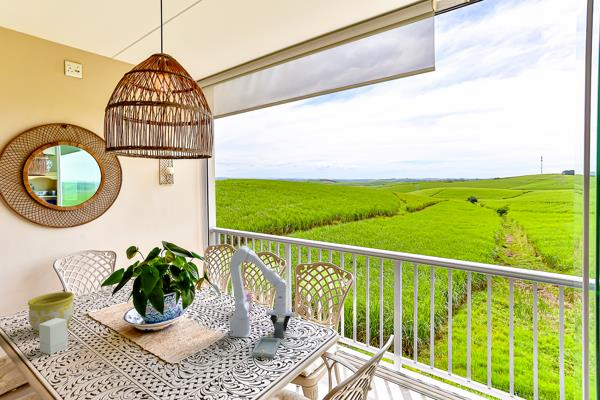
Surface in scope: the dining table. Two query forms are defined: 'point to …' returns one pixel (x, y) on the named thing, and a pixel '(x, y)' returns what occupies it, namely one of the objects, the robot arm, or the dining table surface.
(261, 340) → the pin tray
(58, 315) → the flowerpot
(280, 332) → the block
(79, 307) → the dining table surface
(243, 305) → the robot arm
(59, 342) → the supplement box
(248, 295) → the box
